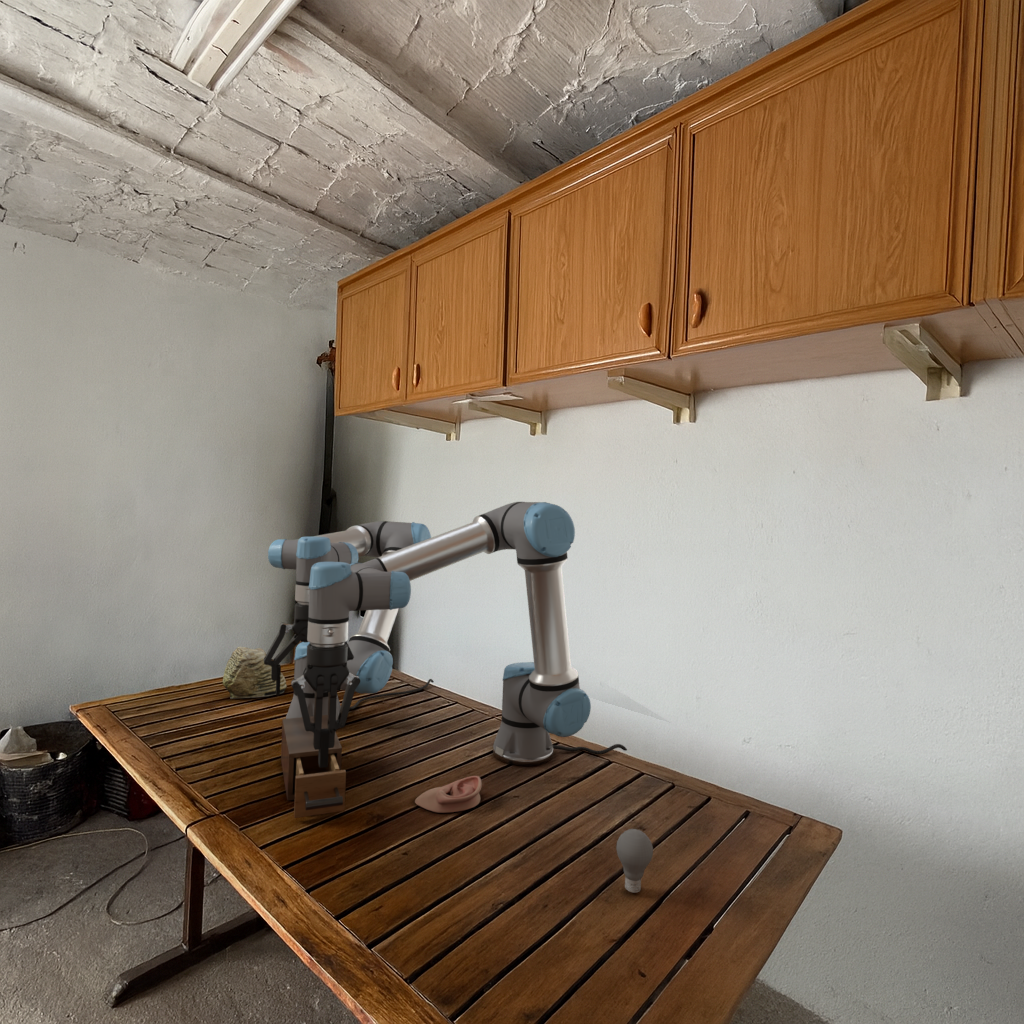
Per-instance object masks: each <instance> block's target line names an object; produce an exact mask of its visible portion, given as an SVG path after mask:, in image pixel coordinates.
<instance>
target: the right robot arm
mask: <svg viewBox="0 0 1024 1024" xmlns="http://www.w3.org/2000/svg"><path fill="white" fill-rule="evenodd" d="M575 537H576V529H575V524H574V521H573V519H572V517H571V515H570V513H569V512H568V511H567V510H565V508H564V507H562V506H560V505H558V504H554V503H550V502H546V501H514V502H509V503H507V504H504V505H502V506H499V507H496V508H494V509H491V510H489V511H487V512H485V513H482V514H479V515H477V516H475V517H474V518H473V519H472V521H471V522H470V523H467V524H465V525H462V526H459V527H456V528H454V529H450V530H448V531H445V532H443V533H440V534H437V535H435V536H433V537H432V536H431V538H429V539H427V540H424V541H421V542H419V543H416V544H413V545H410V546H408V547H405V548H402V549H400V550H397V551H394V552H392V553H389V554H386V555H384V556H381V557H375V558H374V559H370V560H368V561H365V562H358V563H352V564H348V563H345V562H318V563H315V564H314V565H313V566H312V568H311V573H310V583H309V618H308V635H307V640H308V642H310V643H309V644H308V646H307V662H306V668H305V670H304V672H303V675H302V676H301V677H299V678H298V679H294V678H293V679H292V680H291V681H290V683H291V688H292V689H293V692H294V691H295V692H296V693H297V696H298V700H299V705H300V709H301V714H302V718H303V723H304V727H305V730H306V731H311V732H313V733H314V735H313V746H314V749H315V750H318V749H319V755H318V763H319V767H320V768H324V767H328V751H329V748H333V747H334V742H335V732H336V733H337V730H339V729H343V728H345V726H346V723H347V720H348V716H349V713H350V710H349V709H350V707H352V706H351V705H352V702H353V698H354V694H355V692H354V691H355V689H356V688H357V686H358V685H359V683H360V679H359V677H358V676H357V675H353V674H351V673H350V672H349V669H348V666H347V652H348V645H347V644H346V643H345V642H346V641H347V642H348V641H349V621H350V612H359V611H366V610H385V609H390V610H392V609H398V608H399V609H404V608H406V607H407V606H408V605H409V603H410V600H411V596H412V595H411V594H412V586H411V585H412V584H411V581H415V580H417V579H419V578H421V577H424V576H426V575H429V574H431V573H434V572H437V571H439V570H442V569H444V568H447V567H449V566H452V565H454V564H457V563H460V562H462V561H465V560H467V559H469V558H472V557H474V556H475V557H476V556H477V555H480V554H482V553H484V554H487V555H491V554H493V553H496V552H500V551H505V550H515V553H516V563H517V565H518V566H519V567H520V568H522V569H523V570H524V576H525V577H524V578H525V587H526V596H527V597H526V598H527V606H528V617H529V627H530V638H531V647H532V657H533V661H530V662H529V661H523V662H514V663H509V664H507V665H506V666H505V667H504V669H503V676H502V696H501V697H502V699H501V722H500V725H499V728H498V731H497V732H496V736H495V739H494V742H493V745H492V747H493V748H492V754H493V756H494V757H495V758H496V759H497V760H499V761H501V762H503V763H506V764H509V765H513V766H520V767H522V766H523V767H531V766H532V767H533V766H539V765H544V764H546V763H548V762H549V761H551V760H552V759H553V757H554V750H560V751H565V752H579V751H580V752H581V751H583V752H587V753H589V754H593V755H604V754H608V753H610V752H612V751H613V750H616V749H621V750H623V751H628V749H627V747H626V746H625V745H623V744H621V743H615V744H612V745H611V746H609V747H607V748H605V749H602V750H595V749H591V748H590V747H585V746H575V747H568V746H563V745H557V744H553V742H552V738H551V734H552V735H555V736H557V737H560V738H568V737H572V736H574V735H575V734H577V733H579V732H580V731H581V730H582V729H583V728H584V725H585V724H587V721H588V720H589V718H590V714H591V708H592V705H591V704H592V703H591V700H590V697H589V695H588V694H587V693H586V692H585V690H583V689H581V687H580V678H579V672H578V670H577V669H576V668H574V667H573V666H572V662H571V661H572V660H571V649H570V640H569V639H570V638H569V629H568V628H569V627H568V619H567V607H566V598H565V597H566V596H565V586H564V576H563V575H564V574H563V566H564V565H565V564H566V562H567V561H568V551H570V549H571V548H572V546H571V545H572V544H573V543H574V541H575ZM399 609H398V610H399ZM346 678H347V681H346V682H347V684H348V685H347V687H346V690H344V694H343V698H342V701H341V704H340V706H341V708H340V712H339V715H338V719H337V720H336V699H337V695H338V691H337V690H338V689H339V688H340V686H341V685H342V683H343V682H344V681H345V679H346ZM305 681H307V682H308V684H309V685H310V686H311V687H312V689H313V690H314V691H315V702H314V723H312V722H310V717H309V713H308V708H307V704H306V699H305V695H304V692H303V689H304V688H305ZM326 691H327V692H328V722H327V726H328V729H327V728H326V729H321V728H322V704H323V692H326Z"/></svg>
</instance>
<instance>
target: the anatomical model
mask: <svg viewBox="0 0 1024 1024" xmlns="http://www.w3.org/2000/svg"><path fill="white" fill-rule="evenodd" d="M482 786H483V783H482V779H481V777H480V776H479V775H471V776H467V777H464V778H461V779H458V780H455V781H452V782H450V783H447V784H445V785H442V786H438V787H433V788H430V789H427V790H425V791H424V792H423V793H421V794H419V795H418V796H417V797H416V798H415V800H414V804H416V805H417V806H418V807H420V808H423V809H425V810H427V811H429V812H433V813H440V814H441V813H443V814H445V813H454V812H463V811H466V810H470V809H472V808H473V809H474V808H475V807H476V806H478V805H480V803H481V793H480V791H481V790H482Z"/></svg>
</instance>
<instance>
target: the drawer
mask: <svg viewBox="0 0 1024 1024" xmlns="http://www.w3.org/2000/svg"><path fill="white" fill-rule="evenodd" d="M293 783H294V789H295V800H293V801H294V806H293V818H294V819H297V818H304V817H311V816H317V815H318V816H319V815H325V814H330V813H338V812H344V811H345V810H346V809H345V808H346V807H345V806H346V787H347V786H346V784H347V771H346V769H341V770H339V766H338V763H337V761H336V758H335V755H334V753H333V754H328V767H324V768H320V767H319V763H318V755H315V756H307V757H298V758H294V772H293Z"/></svg>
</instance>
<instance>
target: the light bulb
mask: <svg viewBox="0 0 1024 1024" xmlns="http://www.w3.org/2000/svg"><path fill="white" fill-rule="evenodd" d="M615 849H616V854H617V857H618V859H619V861H620V863H621V865H622V867H623V873H624V874H623V875H624V876H625V878H624V888H625V890H627V891H628V892H630V893H634V894H635V893H639V892H640V891H641V889H642V887H641V886H642V879H643V877H644V875H645V871H646V868H647V867H648V866H649V864H650V863H651V861H652V859H653V855H654V847H653V843H652V841H651V838H649V836H648V835H647V834H646V833H645V832H643V831H642V830H641V829H636V828H629V829H627V830H625V831H623V832H622V833H621V834H620V835H619V837H618V839H617V841H616V847H615Z"/></svg>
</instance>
